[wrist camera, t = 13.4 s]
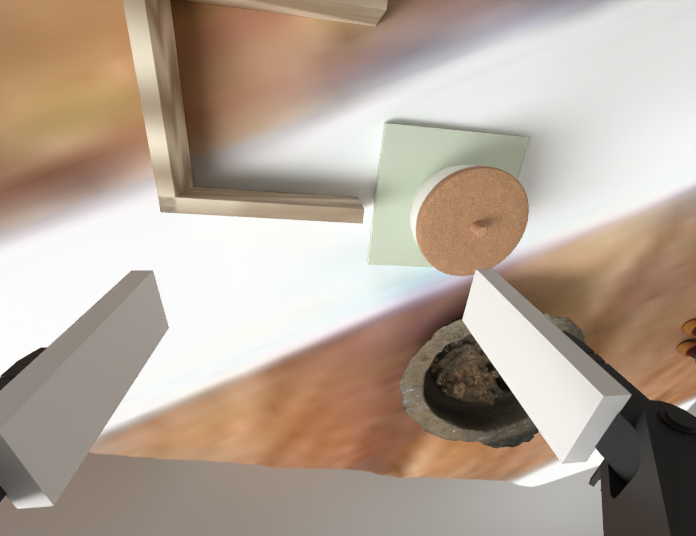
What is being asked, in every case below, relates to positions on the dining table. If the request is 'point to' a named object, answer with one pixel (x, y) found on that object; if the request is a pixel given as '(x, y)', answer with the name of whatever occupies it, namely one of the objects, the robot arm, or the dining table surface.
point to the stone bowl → (466, 390)
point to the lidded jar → (468, 218)
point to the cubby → (170, 126)
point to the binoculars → (689, 347)
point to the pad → (415, 168)
